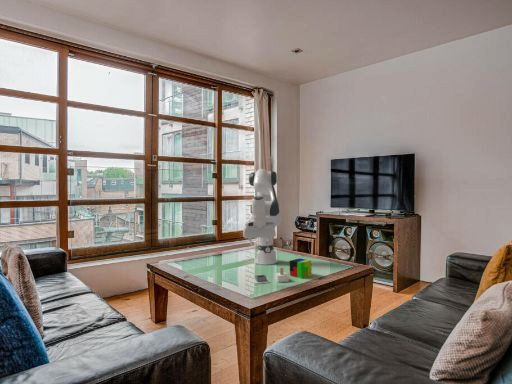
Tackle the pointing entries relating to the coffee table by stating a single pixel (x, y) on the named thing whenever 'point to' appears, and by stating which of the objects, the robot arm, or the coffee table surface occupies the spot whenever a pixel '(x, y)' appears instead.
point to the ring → (260, 278)
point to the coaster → (260, 282)
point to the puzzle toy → (300, 268)
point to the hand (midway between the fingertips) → (259, 244)
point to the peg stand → (281, 276)
